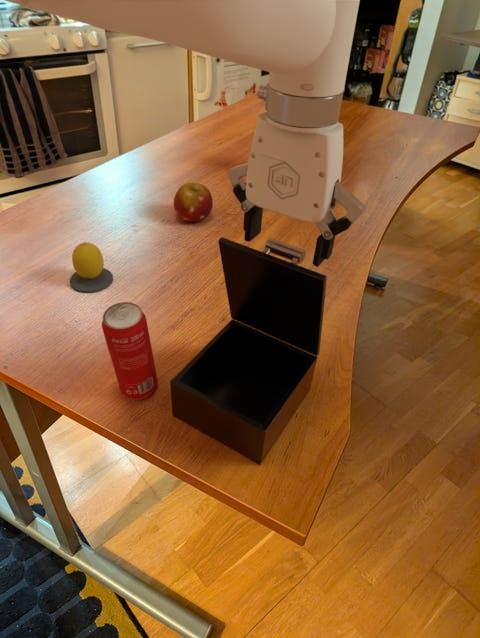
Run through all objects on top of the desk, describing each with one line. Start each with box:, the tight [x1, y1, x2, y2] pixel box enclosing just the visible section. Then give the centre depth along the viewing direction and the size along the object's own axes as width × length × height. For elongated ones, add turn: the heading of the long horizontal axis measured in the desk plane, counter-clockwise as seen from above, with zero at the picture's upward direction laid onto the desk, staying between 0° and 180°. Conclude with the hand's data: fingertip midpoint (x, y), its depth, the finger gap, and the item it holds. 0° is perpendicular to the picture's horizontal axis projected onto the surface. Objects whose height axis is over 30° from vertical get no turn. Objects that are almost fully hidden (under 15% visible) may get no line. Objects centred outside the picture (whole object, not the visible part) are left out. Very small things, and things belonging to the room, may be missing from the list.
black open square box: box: [169, 318, 318, 466], centre depth 66 cm, size 16×15×7 cm
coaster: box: [69, 267, 114, 294], centre depth 89 cm, size 8×8×1 cm
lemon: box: [71, 241, 105, 279], centre depth 86 cm, size 6×6×8 cm
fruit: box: [173, 181, 214, 223], centre depth 107 cm, size 10×9×8 cm
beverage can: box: [101, 301, 158, 401], centre depth 65 cm, size 6×6×15 cm
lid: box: [217, 236, 328, 357], centre depth 63 cm, size 16×15×5 cm
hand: (285, 248), depth 58 cm, fingers open, 9 cm apart
